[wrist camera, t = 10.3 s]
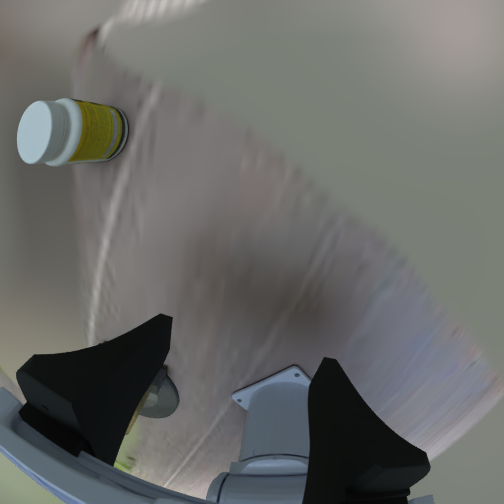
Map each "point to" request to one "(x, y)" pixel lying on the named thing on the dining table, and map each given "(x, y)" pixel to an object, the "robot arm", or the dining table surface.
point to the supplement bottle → (70, 132)
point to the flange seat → (160, 397)
